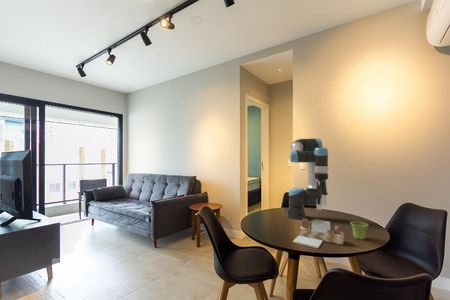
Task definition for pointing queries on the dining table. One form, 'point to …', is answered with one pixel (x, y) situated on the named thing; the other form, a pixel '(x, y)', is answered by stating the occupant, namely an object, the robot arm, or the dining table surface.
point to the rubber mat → (308, 241)
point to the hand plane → (330, 237)
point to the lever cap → (321, 226)
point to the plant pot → (359, 229)
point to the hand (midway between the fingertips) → (321, 207)
